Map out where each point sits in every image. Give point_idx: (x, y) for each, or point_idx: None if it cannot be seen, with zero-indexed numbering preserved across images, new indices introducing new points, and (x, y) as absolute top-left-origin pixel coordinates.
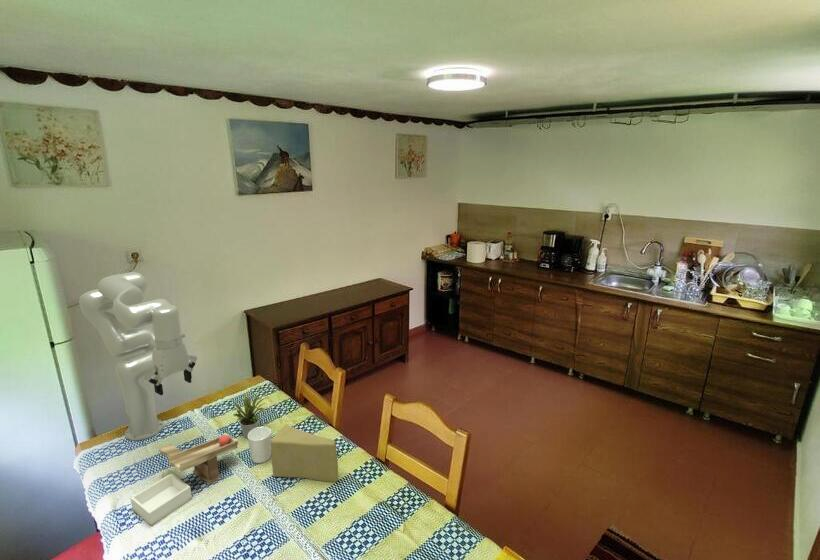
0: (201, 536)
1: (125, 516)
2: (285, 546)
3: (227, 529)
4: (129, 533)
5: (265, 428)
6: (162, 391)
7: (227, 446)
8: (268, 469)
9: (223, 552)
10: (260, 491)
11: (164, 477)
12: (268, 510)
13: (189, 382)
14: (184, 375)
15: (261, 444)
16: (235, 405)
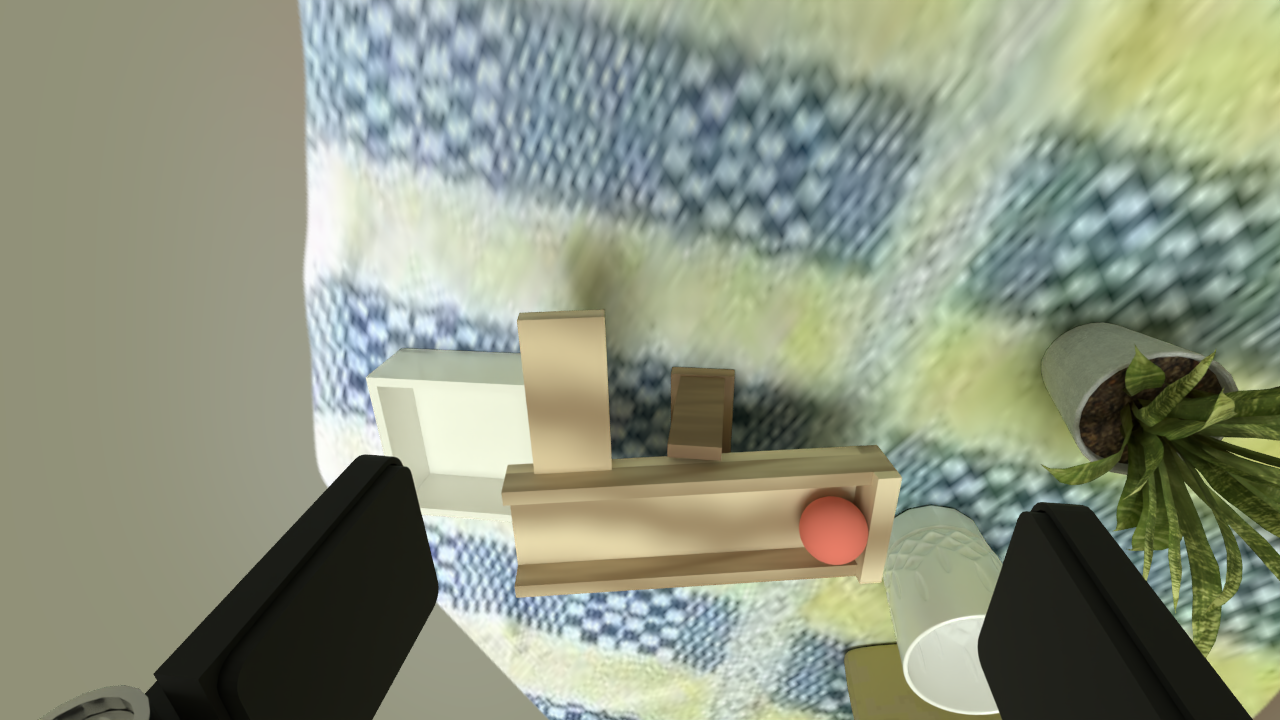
0: (520, 625)
1: (372, 355)
2: None
3: (584, 665)
4: (364, 440)
5: None
6: (393, 662)
7: (803, 575)
8: (870, 613)
9: (533, 700)
10: (757, 654)
11: (519, 387)
12: (708, 715)
13: (983, 658)
14: (1097, 650)
15: (921, 671)
16: (1210, 423)
